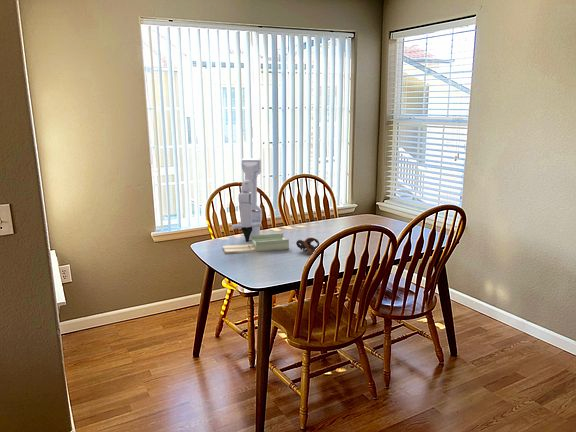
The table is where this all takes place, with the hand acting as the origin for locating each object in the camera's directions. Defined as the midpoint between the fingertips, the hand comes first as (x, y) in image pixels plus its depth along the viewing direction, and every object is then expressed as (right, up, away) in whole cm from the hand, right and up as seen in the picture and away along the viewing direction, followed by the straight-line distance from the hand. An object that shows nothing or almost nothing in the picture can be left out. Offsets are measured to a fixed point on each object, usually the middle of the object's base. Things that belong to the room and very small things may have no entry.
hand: (247, 241), depth 251 cm
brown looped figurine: (+31, -5, -5) cm, 32 cm away
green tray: (+12, -3, +4) cm, 13 cm away
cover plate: (-4, -5, 0) cm, 6 cm away
